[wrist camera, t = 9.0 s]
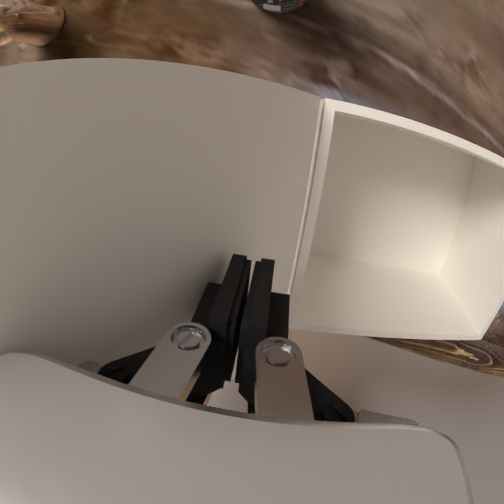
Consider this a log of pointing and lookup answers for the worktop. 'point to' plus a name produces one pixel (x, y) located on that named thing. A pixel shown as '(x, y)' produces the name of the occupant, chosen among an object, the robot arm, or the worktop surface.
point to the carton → (398, 230)
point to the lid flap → (139, 197)
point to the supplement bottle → (279, 5)
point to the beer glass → (29, 22)
